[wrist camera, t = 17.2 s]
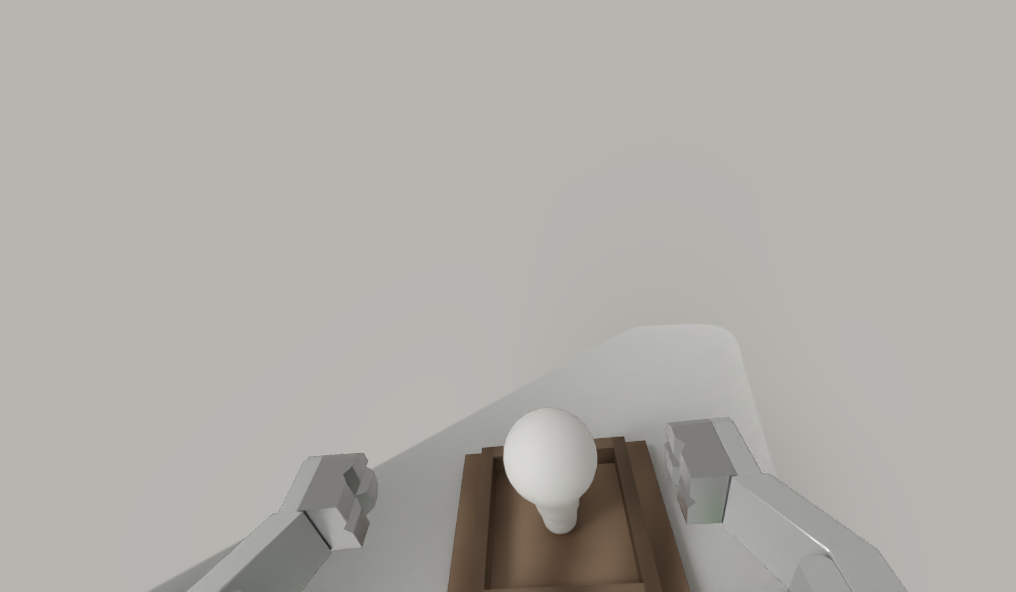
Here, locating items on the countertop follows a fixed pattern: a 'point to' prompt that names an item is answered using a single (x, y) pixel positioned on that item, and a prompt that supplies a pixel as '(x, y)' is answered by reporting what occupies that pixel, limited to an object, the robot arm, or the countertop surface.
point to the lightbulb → (551, 464)
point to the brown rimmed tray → (579, 553)
